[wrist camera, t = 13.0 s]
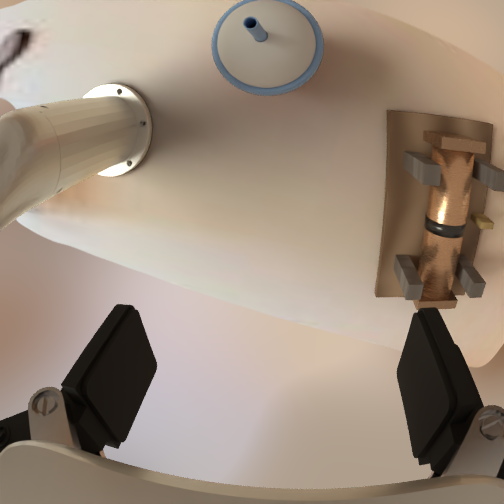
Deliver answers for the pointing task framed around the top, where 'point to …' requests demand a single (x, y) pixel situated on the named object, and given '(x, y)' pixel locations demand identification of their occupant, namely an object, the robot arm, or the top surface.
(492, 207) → the top surface
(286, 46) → the cup with straw
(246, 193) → the top surface
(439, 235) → the copper tube
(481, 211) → the collar board
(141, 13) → the top surface
